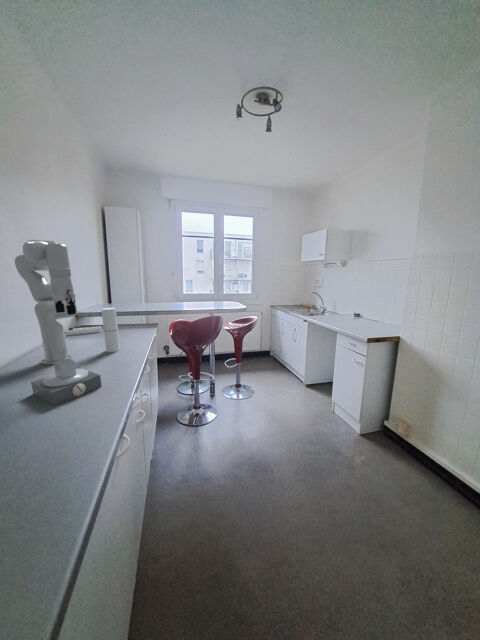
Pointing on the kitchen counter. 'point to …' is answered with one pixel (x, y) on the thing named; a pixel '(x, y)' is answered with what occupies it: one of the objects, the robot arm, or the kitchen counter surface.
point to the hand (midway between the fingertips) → (66, 313)
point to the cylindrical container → (110, 329)
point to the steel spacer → (65, 368)
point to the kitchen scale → (65, 386)
